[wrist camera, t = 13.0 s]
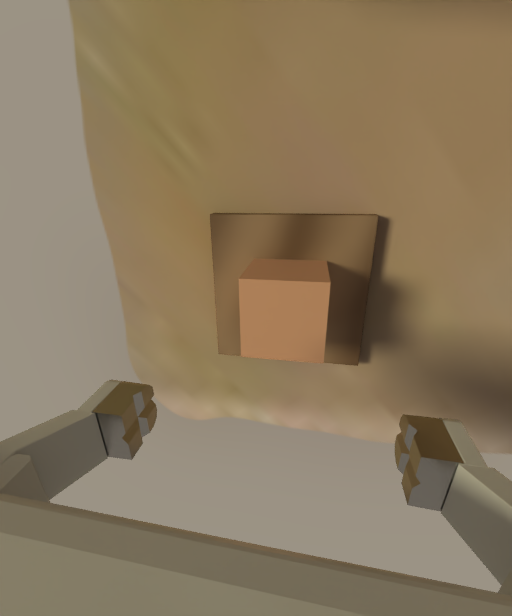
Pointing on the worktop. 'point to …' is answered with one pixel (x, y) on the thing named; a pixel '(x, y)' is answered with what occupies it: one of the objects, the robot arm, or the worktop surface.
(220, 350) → the walnut board
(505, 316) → the worktop surface
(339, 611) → the robot arm
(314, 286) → the terracotta cube
